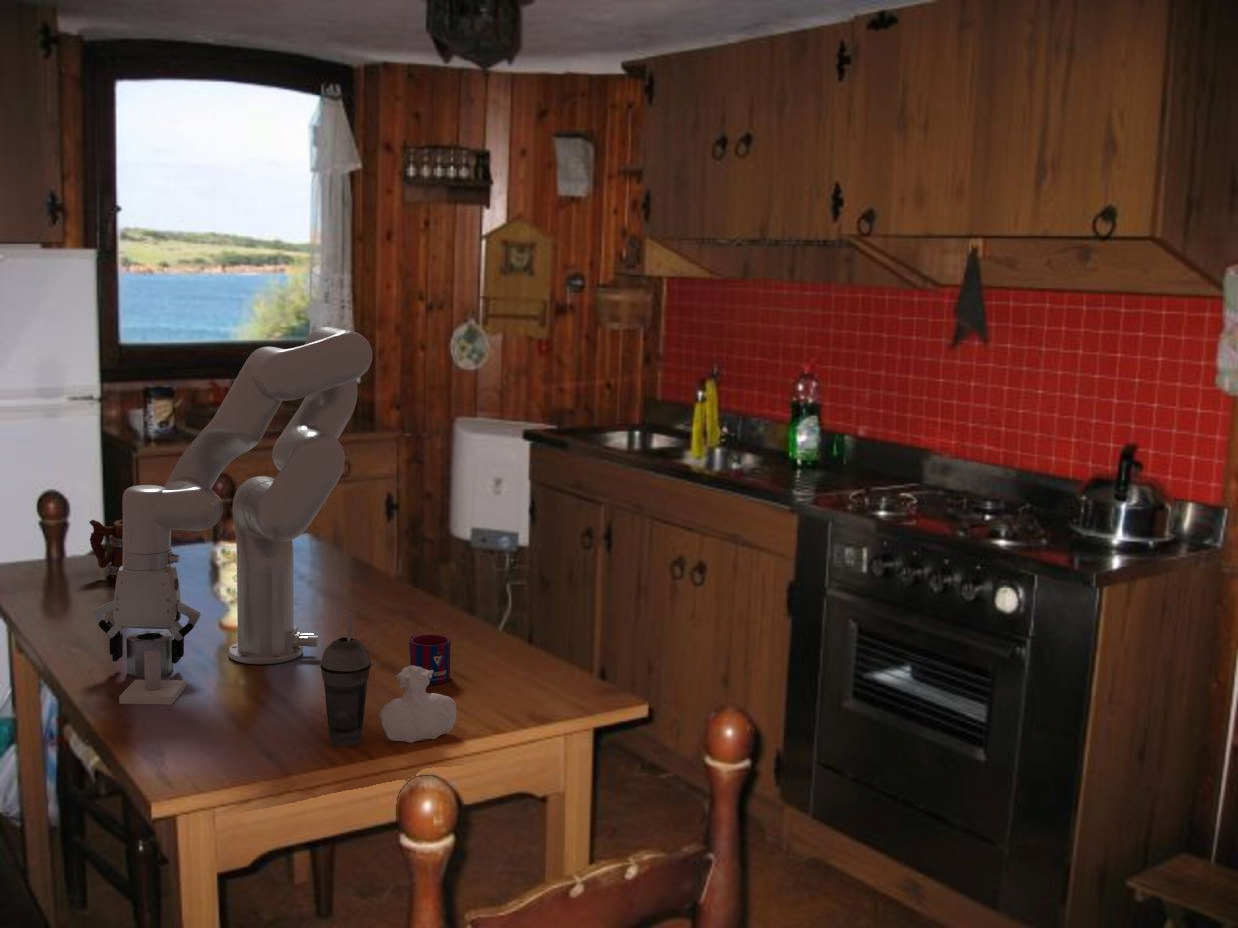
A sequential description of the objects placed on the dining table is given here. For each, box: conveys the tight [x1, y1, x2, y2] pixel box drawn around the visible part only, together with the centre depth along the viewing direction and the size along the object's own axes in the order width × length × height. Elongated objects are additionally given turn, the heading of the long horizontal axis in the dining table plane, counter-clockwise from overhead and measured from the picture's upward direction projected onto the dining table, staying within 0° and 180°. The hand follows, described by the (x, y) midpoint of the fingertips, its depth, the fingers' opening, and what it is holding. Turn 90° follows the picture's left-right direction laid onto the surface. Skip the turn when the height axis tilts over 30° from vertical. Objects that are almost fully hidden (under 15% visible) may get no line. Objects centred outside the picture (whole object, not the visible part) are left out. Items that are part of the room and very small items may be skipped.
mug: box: [88, 518, 123, 581], centre depth 275 cm, size 12×14×15 cm
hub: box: [125, 629, 175, 678], centre depth 216 cm, size 7×7×6 cm
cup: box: [408, 633, 452, 686], centre depth 218 cm, size 7×10×7 cm
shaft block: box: [118, 650, 187, 706], centre depth 204 cm, size 8×8×7 cm
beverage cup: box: [319, 609, 372, 748], centre depth 187 cm, size 7×7×20 cm
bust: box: [378, 664, 457, 744], centre depth 192 cm, size 12×8×11 cm
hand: (147, 659), depth 216 cm, fingers open, 9 cm apart
